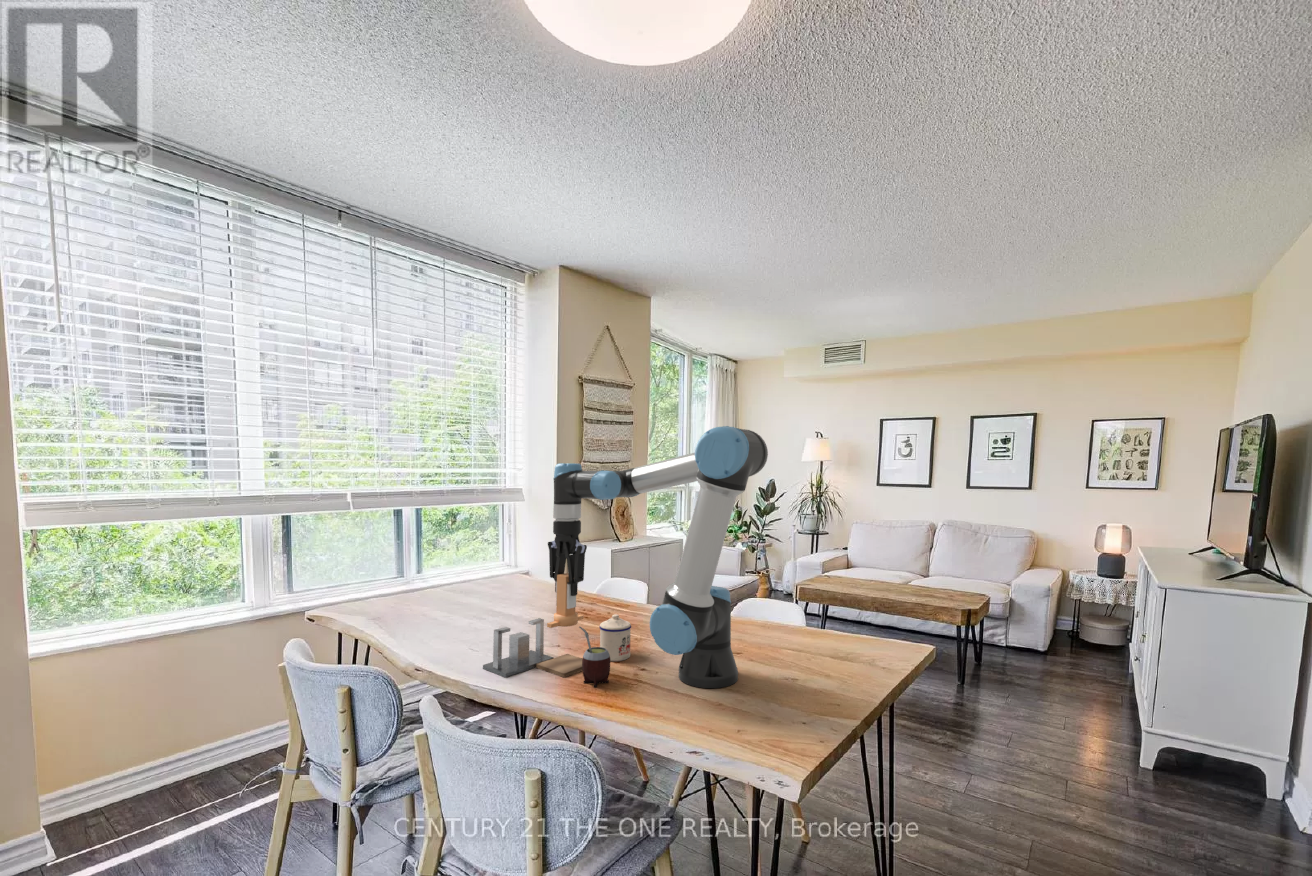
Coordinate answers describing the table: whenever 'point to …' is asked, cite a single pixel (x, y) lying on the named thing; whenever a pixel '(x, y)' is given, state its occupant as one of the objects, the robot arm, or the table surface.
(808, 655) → the table surface
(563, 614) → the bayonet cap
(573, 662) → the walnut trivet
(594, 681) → the mate gourd
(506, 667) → the grey double hook stand
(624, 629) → the teacup with lid
